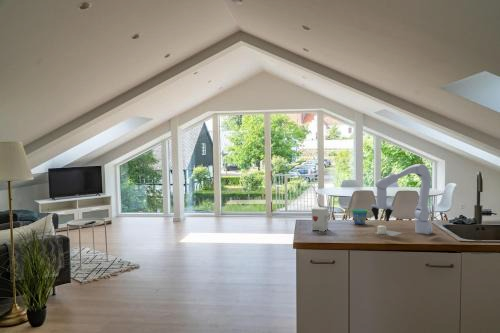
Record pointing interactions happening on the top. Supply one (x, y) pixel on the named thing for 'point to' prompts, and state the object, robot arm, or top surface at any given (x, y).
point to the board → (391, 233)
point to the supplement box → (319, 218)
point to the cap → (382, 229)
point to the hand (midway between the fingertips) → (381, 220)
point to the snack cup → (359, 215)
